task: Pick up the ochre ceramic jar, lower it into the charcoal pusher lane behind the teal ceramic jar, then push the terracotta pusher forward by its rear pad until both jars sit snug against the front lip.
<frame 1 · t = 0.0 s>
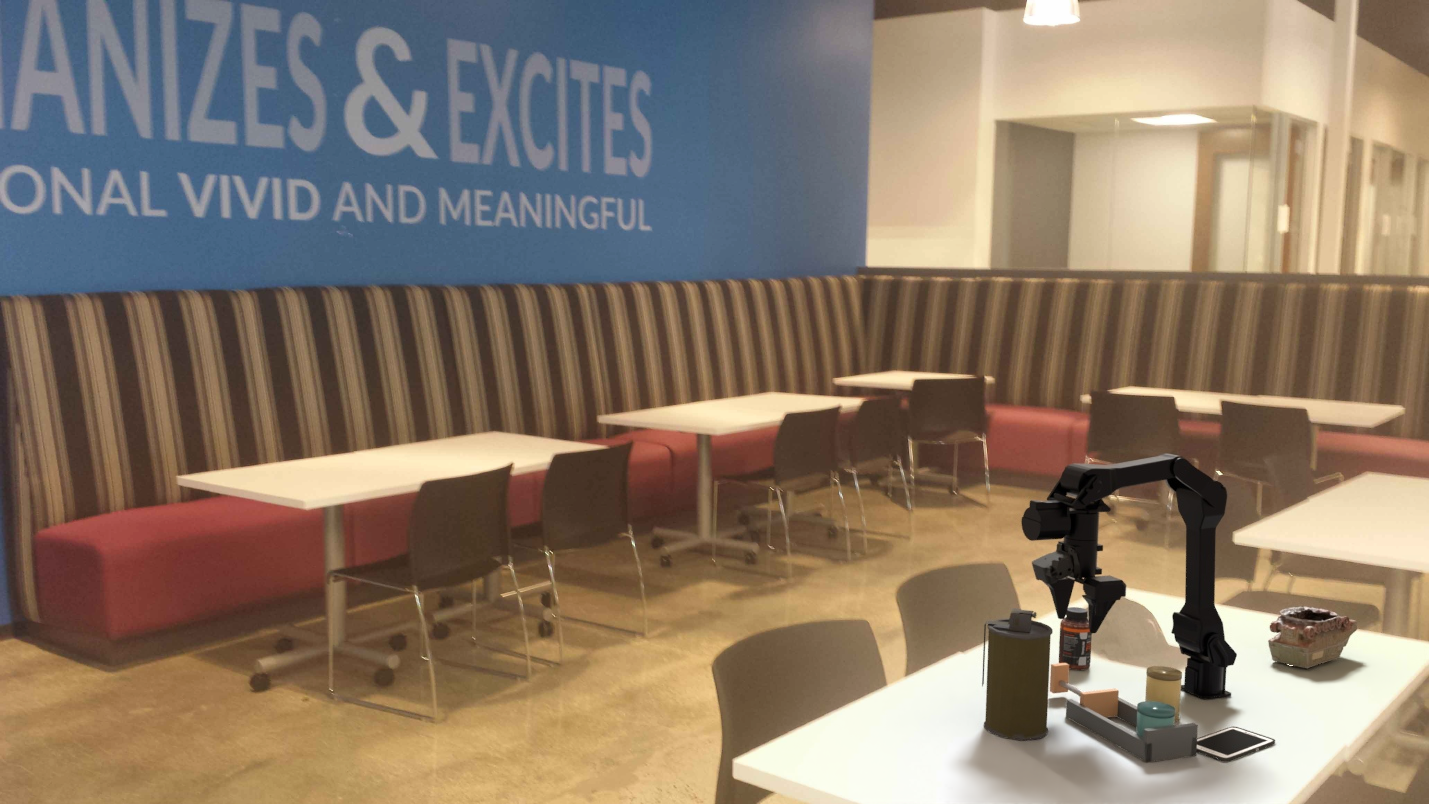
hand: (1076, 625, 212), 15 cm above the table, tool pointing down, fingers open, 9 cm apart
lane: (1128, 735, 201), on the table
pusher: (1078, 690, 213), point 3 cm above the table, slide at 0.0 cm
cell phone: (1229, 748, 197), on the table
ochre jar: (1161, 716, 210), on the table
decorative box: (1305, 658, 245), on the table
supplement bottle: (1074, 667, 237), on the table
canister: (1014, 729, 203), on the table
jar: (1154, 749, 195), resting in lane
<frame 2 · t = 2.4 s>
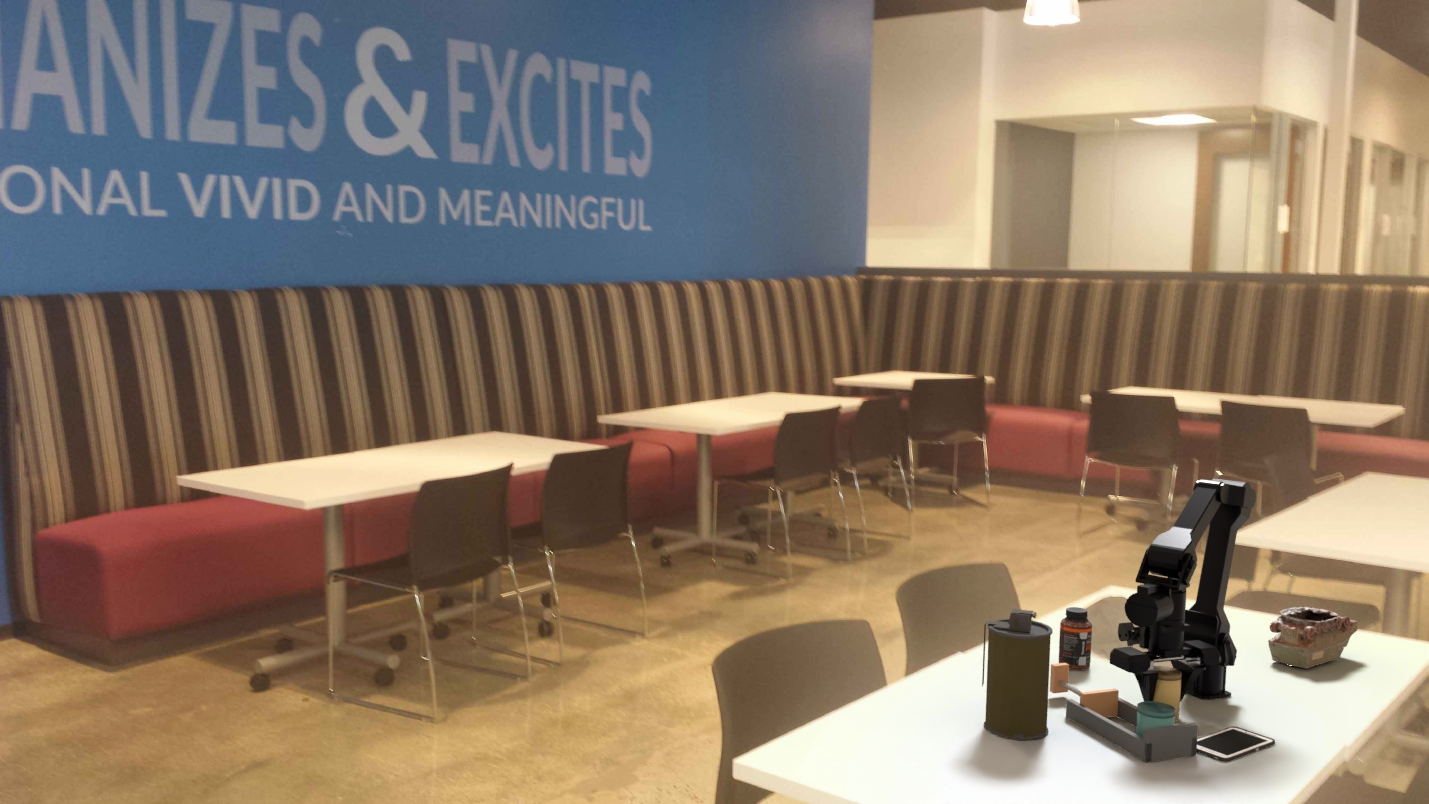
hand: (1162, 704, 210), 2 cm above the table, tool pointing down, fingers closed on ochre jar, 6 cm apart
ochre jar: (1161, 716, 210), on the table, touching gripper
everything else where it was.
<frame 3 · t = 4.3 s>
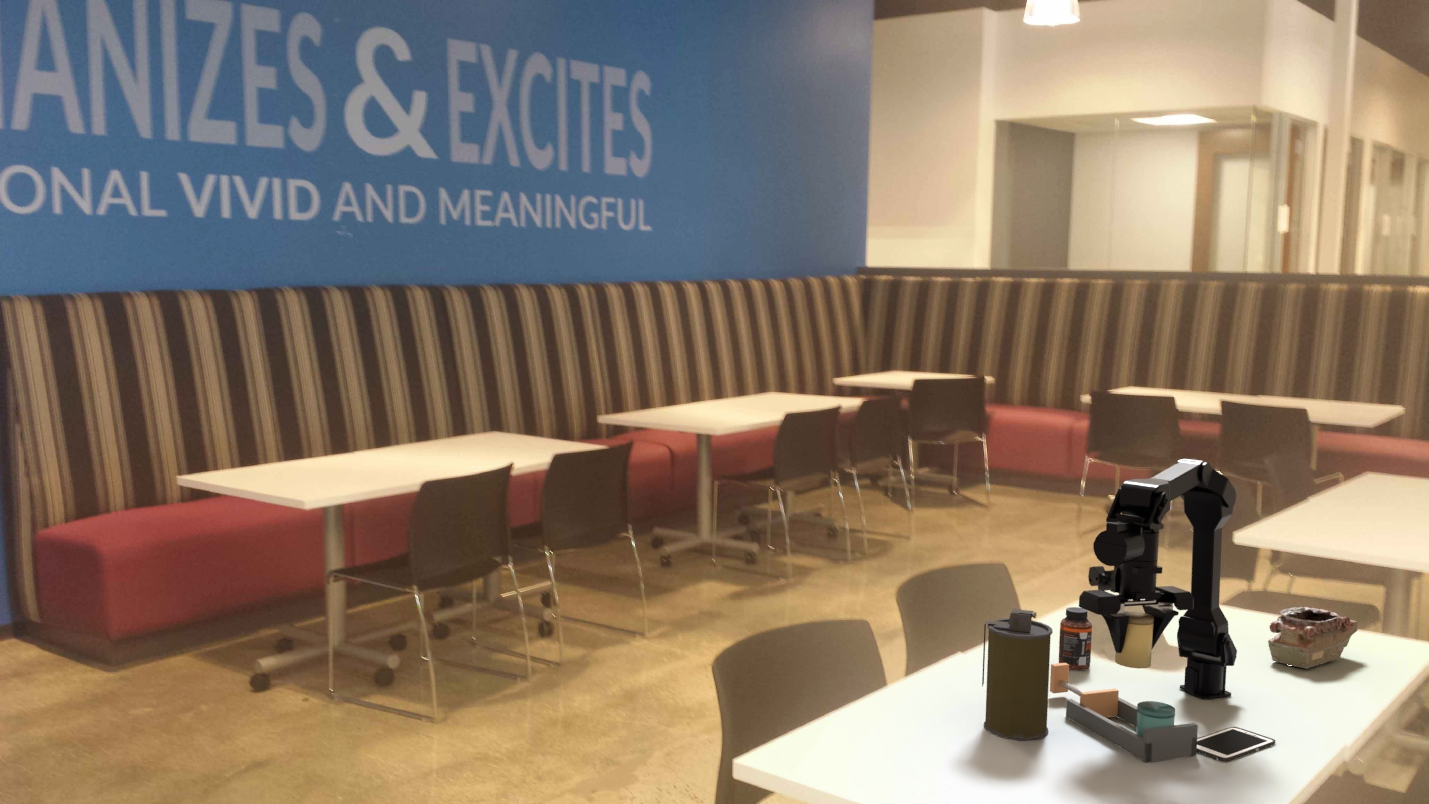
hand: (1133, 651, 201), 14 cm above the table, tool pointing down, fingers closed on ochre jar, 6 cm apart
ochre jar: (1132, 663, 201), point 12 cm above the table, touching gripper
everything else where it was.
when the fingers open (4 cm above the table, at t = 6.3 s): ochre jar drops 2 cm, resting in lane.
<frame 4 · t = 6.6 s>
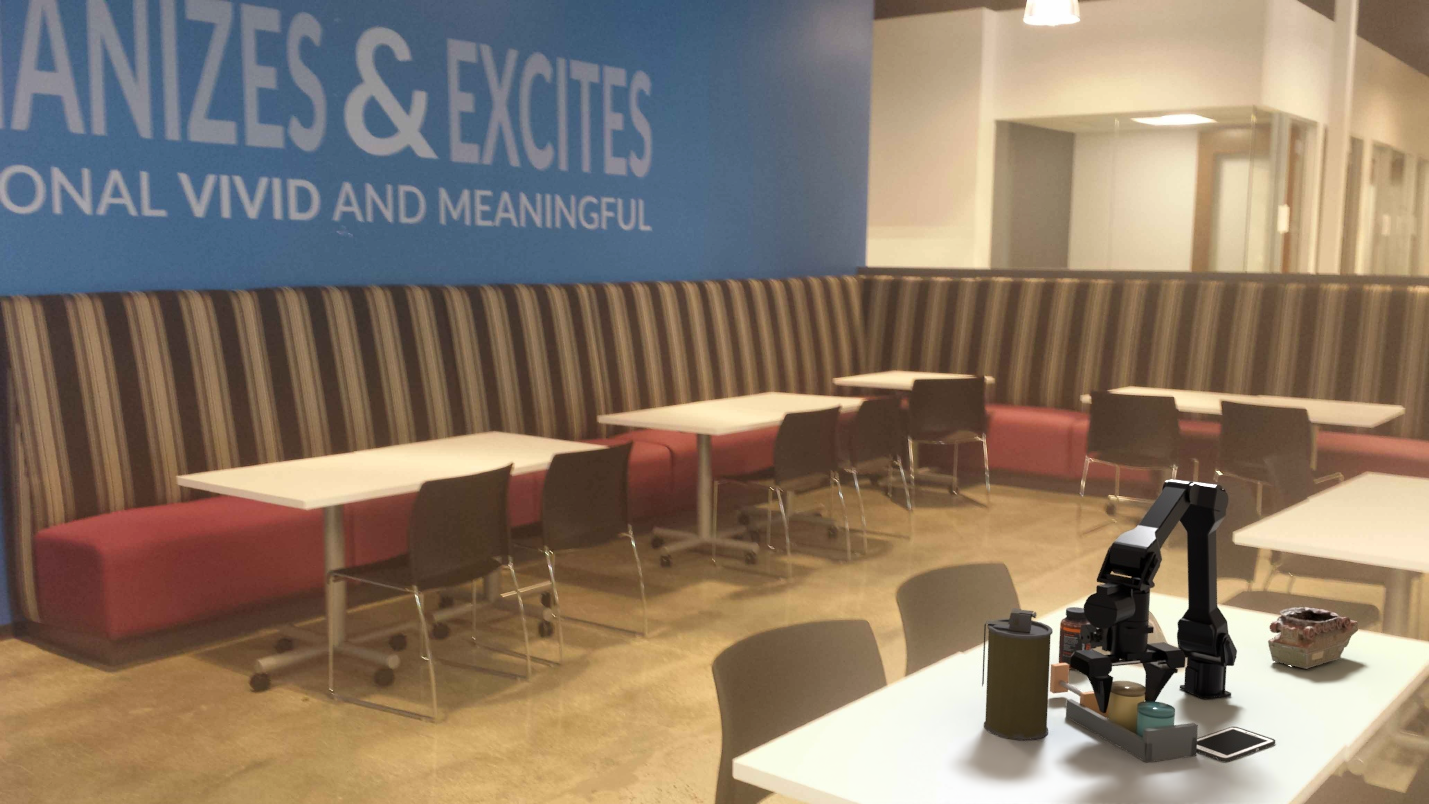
hand: (1125, 709, 201), 4 cm above the table, tool pointing down, fingers open, 9 cm apart
ochre jar: (1125, 733, 202), resting in lane
everything else where it was.
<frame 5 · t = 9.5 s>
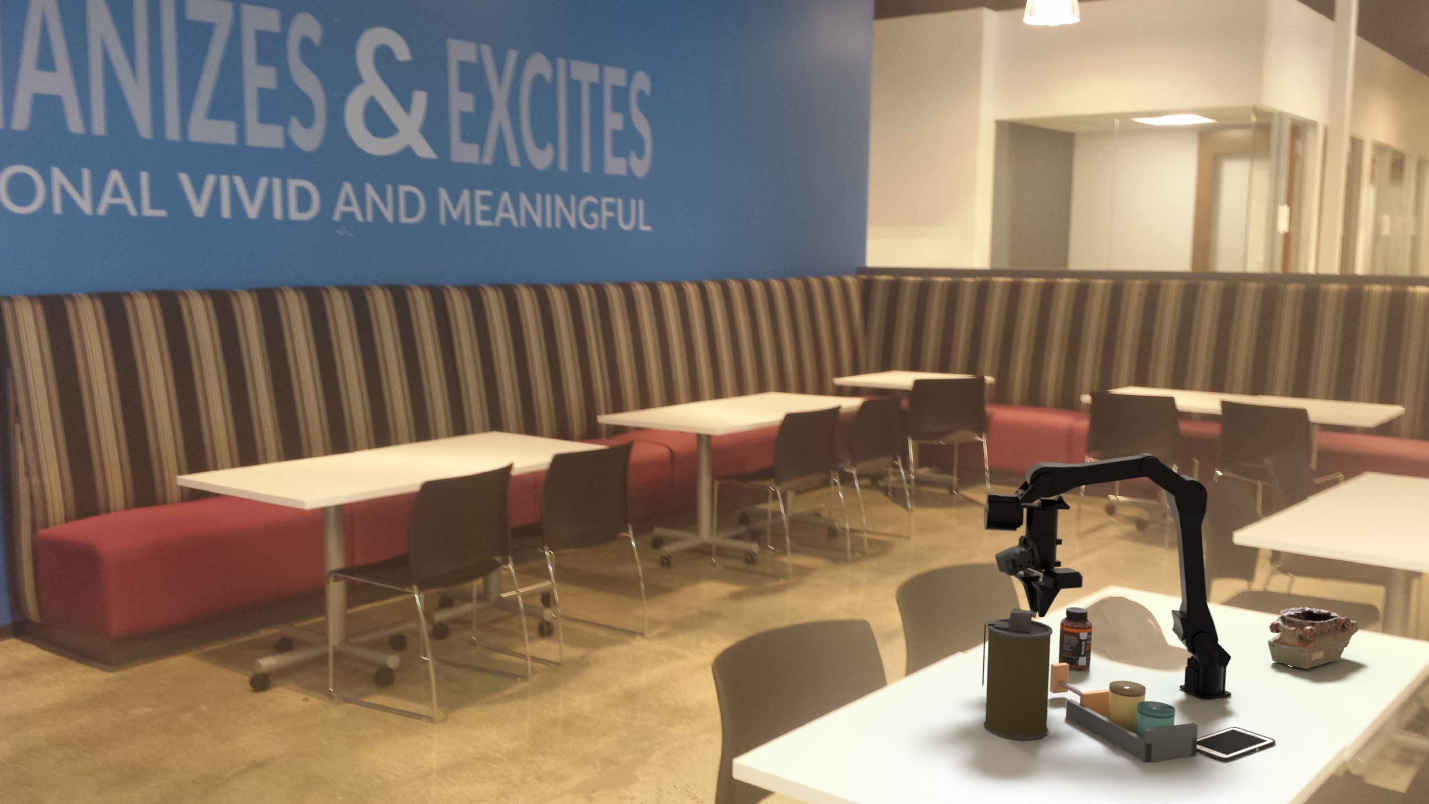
hand: (1037, 615, 225), 13 cm above the table, tool pointing down, fingers closed
nothing on the table moved.
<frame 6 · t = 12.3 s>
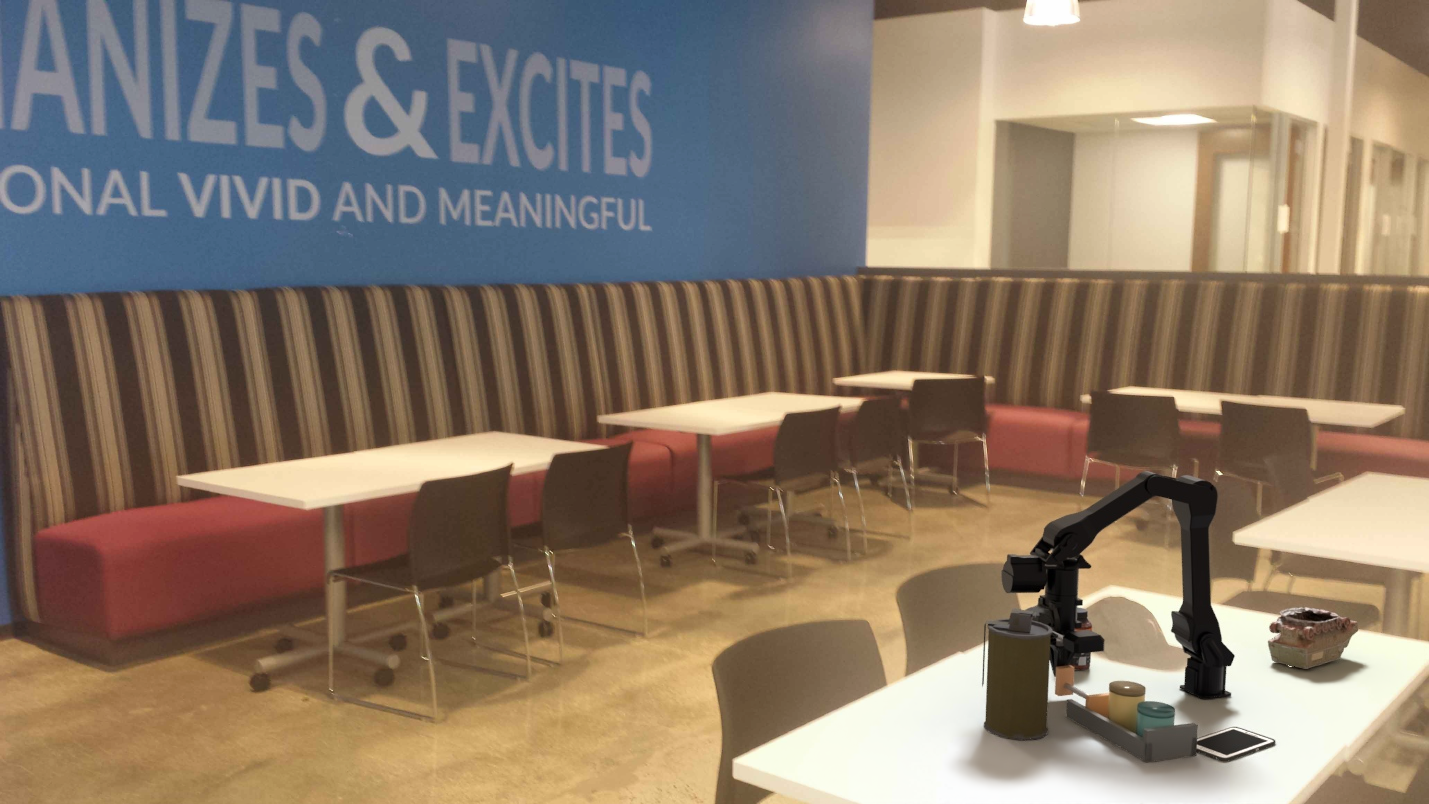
hand: (1057, 677, 219), 3 cm above the table, tool pointing down, fingers closed
pusher: (1083, 692, 212), point 3 cm above the table, slide at 1.6 cm, touching gripper
everything else where it was.
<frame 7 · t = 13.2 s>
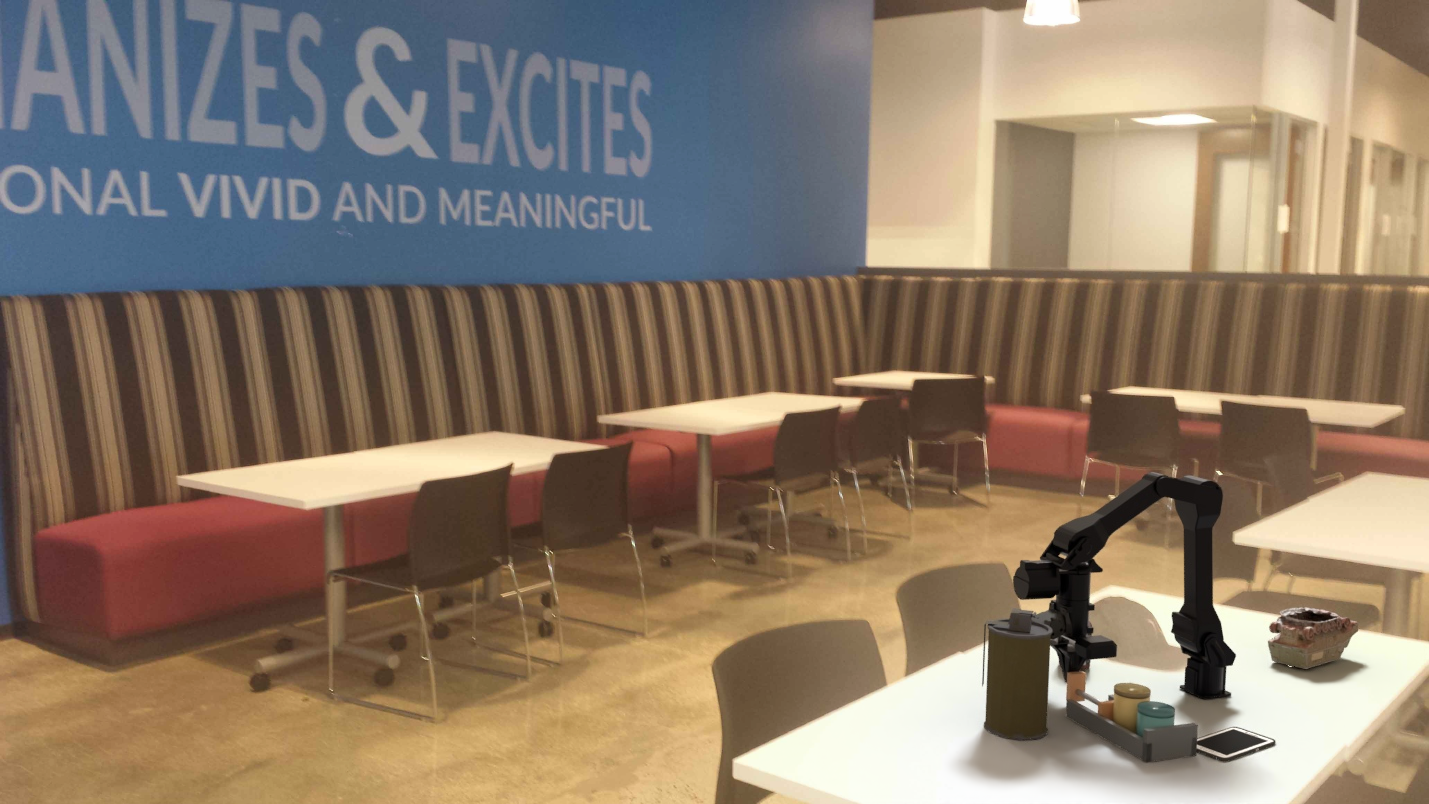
hand: (1068, 682, 216), 3 cm above the table, tool pointing down, fingers closed
pusher: (1095, 699, 209), point 3 cm above the table, slide at 4.9 cm, touching gripper, ochre jar
ochre jar: (1129, 735, 200), resting in lane, touching pusher
everything else where it was.
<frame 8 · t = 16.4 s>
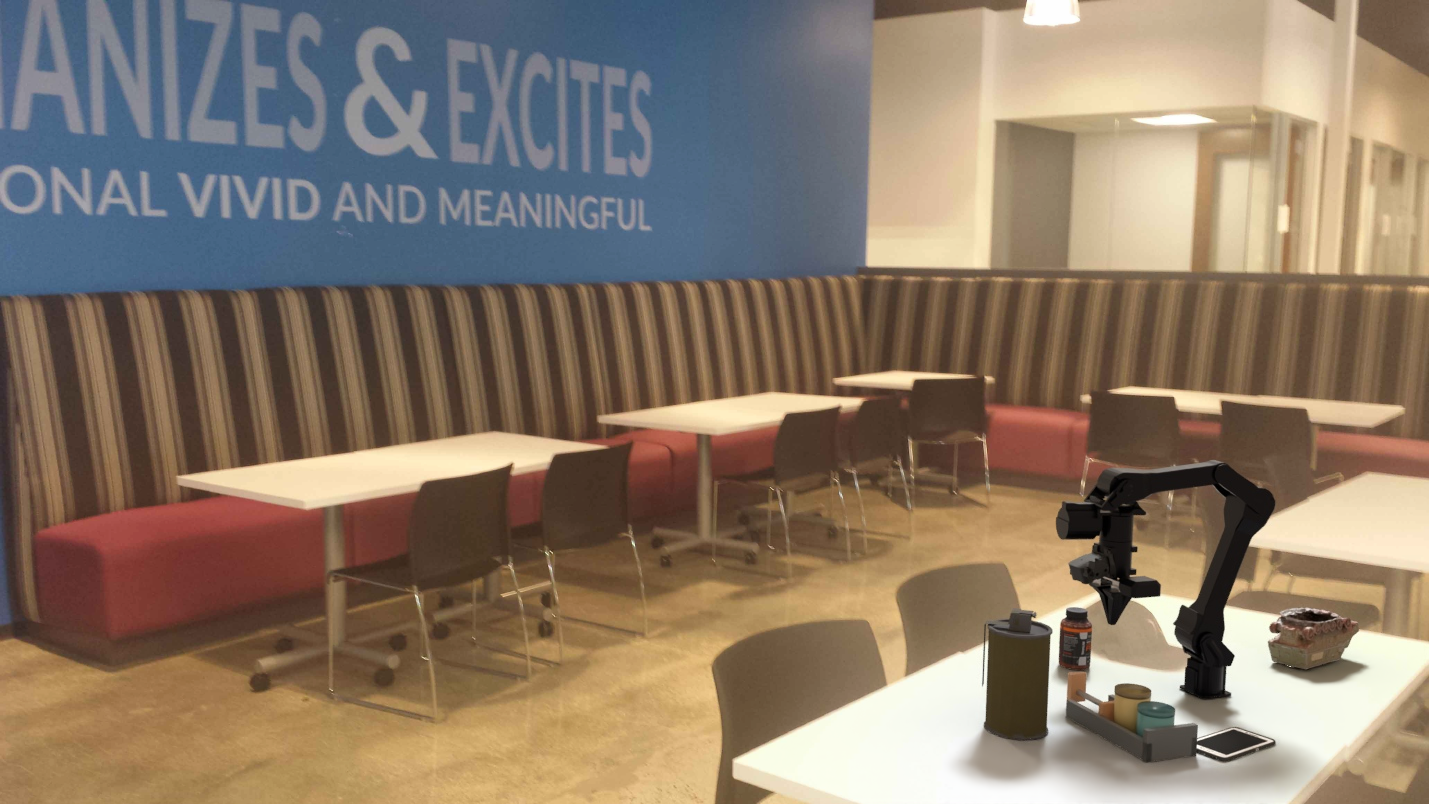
hand: (1111, 624, 219), 13 cm above the table, tool pointing down, fingers closed
pusher: (1096, 699, 208), point 3 cm above the table, slide at 5.1 cm
ochre jar: (1130, 736, 200), resting in lane
everything else where it was.
at the end: ochre jar inside the target area on the lane (0.6 cm from its centre), point 0.0 cm above the lane's base; ochre jar tilted 0°; pusher slide at 5.1 cm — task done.
